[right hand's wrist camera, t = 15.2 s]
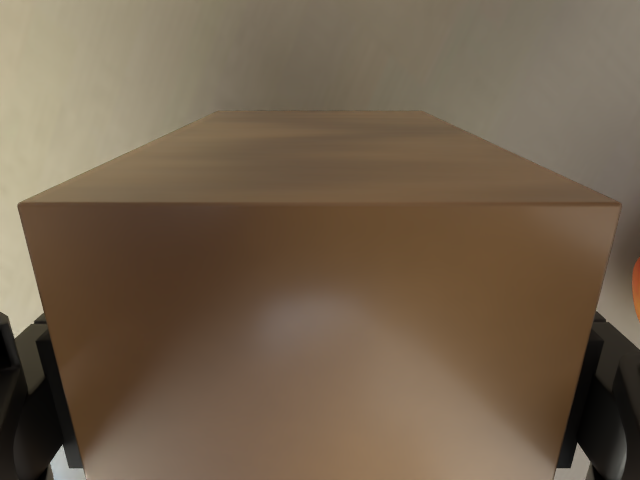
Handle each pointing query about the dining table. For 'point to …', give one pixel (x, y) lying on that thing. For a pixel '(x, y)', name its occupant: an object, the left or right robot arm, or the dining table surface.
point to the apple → (636, 287)
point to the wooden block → (319, 301)
